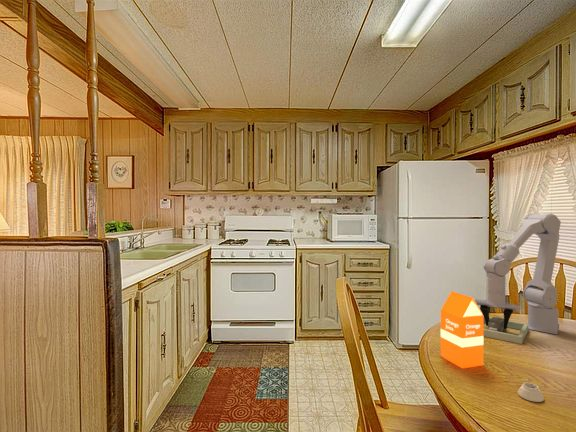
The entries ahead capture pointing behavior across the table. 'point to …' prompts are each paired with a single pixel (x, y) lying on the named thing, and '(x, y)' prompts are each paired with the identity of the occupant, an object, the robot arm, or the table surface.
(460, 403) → the table surface
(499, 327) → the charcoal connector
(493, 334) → the sage frame
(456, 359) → the orange juice
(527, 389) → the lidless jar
